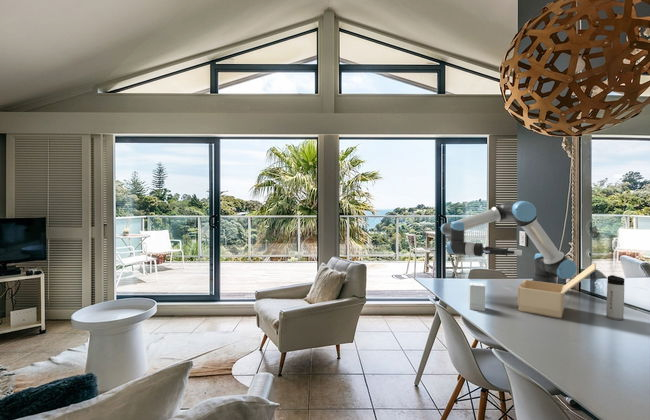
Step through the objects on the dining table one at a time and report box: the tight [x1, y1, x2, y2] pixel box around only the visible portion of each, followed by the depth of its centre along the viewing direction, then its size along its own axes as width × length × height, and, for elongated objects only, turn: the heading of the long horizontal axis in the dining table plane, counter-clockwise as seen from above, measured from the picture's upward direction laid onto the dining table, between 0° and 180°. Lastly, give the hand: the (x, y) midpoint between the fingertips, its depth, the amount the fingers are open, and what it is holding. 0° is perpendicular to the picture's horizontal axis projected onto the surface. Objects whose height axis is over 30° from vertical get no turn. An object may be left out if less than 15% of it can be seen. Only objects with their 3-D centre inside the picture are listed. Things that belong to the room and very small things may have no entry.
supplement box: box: [468, 282, 486, 312], centre depth 177 cm, size 7×7×13 cm
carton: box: [516, 279, 566, 319], centre depth 177 cm, size 23×19×12 cm
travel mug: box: [605, 275, 625, 321], centre depth 164 cm, size 6×7×20 cm
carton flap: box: [562, 262, 597, 294], centre depth 167 cm, size 21×18×1 cm
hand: (521, 252), depth 182 cm, fingers closed
